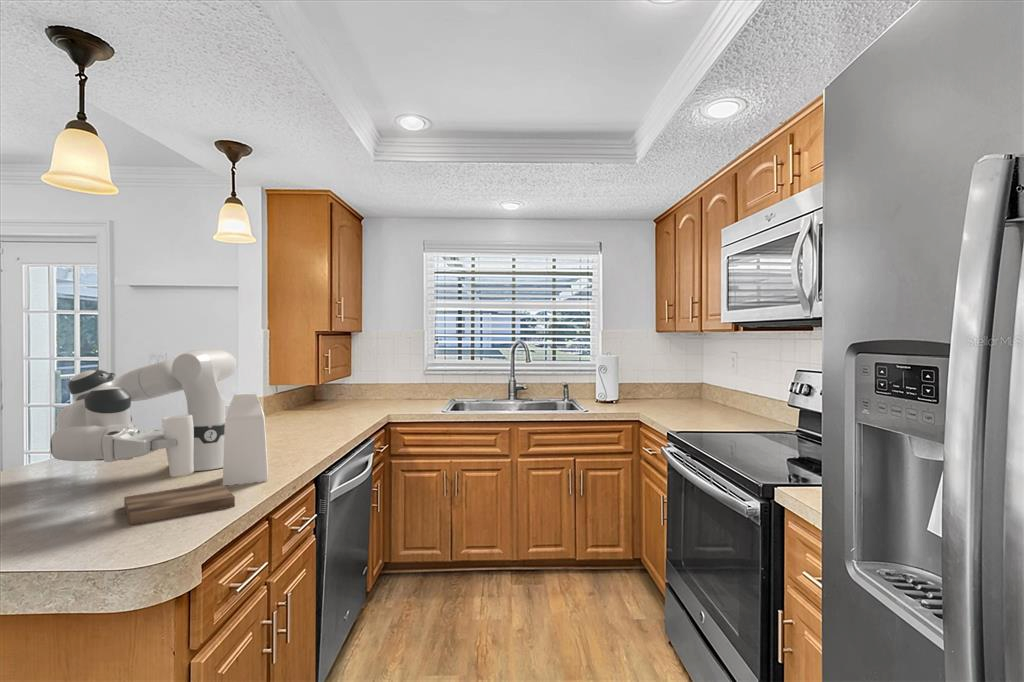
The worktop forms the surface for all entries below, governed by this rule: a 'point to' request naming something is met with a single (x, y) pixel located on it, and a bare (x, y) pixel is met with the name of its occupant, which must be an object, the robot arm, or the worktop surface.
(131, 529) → the worktop surface
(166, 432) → the drinking glass
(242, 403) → the milk
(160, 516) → the walnut board
